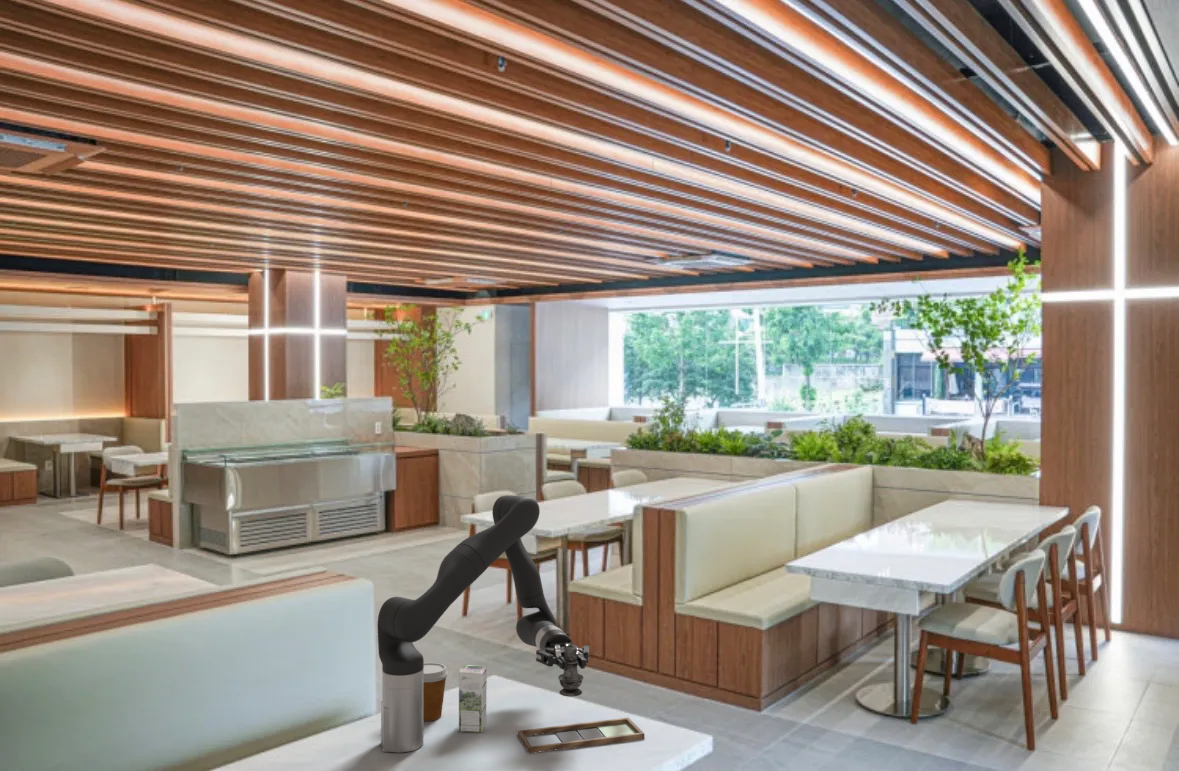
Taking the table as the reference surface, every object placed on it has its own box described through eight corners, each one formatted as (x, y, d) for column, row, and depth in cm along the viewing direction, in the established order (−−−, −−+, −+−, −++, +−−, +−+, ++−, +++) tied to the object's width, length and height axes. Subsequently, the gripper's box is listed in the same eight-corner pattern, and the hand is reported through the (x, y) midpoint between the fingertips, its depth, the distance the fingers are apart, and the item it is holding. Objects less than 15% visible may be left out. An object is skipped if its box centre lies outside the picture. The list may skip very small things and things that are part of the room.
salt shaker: (580, 697, 204) (580, 645, 204) (555, 696, 206) (555, 644, 205) (585, 689, 210) (585, 638, 210) (561, 687, 211) (561, 636, 211)
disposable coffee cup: (444, 724, 216) (444, 674, 216) (404, 723, 216) (405, 674, 216) (451, 709, 226) (451, 662, 226) (413, 709, 226) (413, 661, 226)
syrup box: (487, 724, 216) (487, 664, 216) (481, 733, 210) (481, 672, 210) (463, 723, 216) (464, 663, 217) (457, 732, 211) (458, 671, 211)
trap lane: (528, 753, 199) (529, 748, 199) (517, 735, 209) (517, 730, 209) (644, 738, 207) (644, 733, 207) (628, 722, 217) (628, 717, 217)
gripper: (526, 631, 219) (545, 652, 203) (581, 626, 224) (604, 646, 207) (526, 661, 219) (545, 684, 203) (580, 656, 224) (603, 678, 207)
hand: (574, 665), depth 205 cm, fingers closed on salt shaker, 3 cm apart
